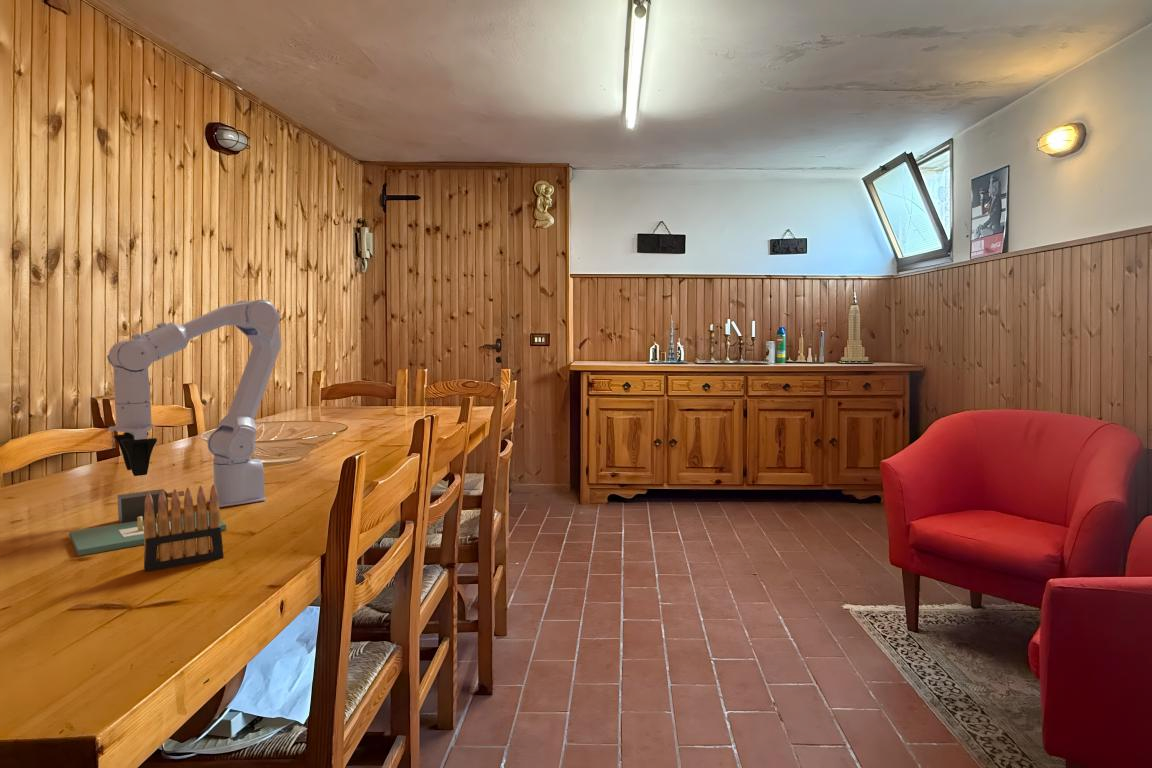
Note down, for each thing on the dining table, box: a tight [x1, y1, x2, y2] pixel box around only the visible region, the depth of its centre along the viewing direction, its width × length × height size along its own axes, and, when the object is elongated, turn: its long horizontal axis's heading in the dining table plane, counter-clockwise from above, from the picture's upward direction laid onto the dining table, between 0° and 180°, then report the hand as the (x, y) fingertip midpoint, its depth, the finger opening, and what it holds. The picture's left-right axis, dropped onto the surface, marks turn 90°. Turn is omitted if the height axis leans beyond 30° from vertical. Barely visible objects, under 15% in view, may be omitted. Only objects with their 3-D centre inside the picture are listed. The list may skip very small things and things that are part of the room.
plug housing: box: [117, 488, 185, 524], centre depth 131 cm, size 11×4×5 cm, turn 132°
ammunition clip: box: [143, 484, 225, 573], centre depth 105 cm, size 11×2×12 cm, turn 128°
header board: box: [69, 509, 227, 557], centre depth 121 cm, size 22×14×4 cm, turn 132°
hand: (136, 472), depth 130 cm, fingers open, 7 cm apart
